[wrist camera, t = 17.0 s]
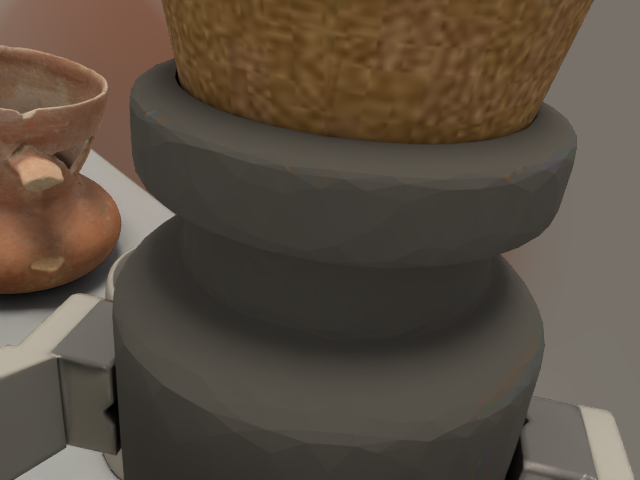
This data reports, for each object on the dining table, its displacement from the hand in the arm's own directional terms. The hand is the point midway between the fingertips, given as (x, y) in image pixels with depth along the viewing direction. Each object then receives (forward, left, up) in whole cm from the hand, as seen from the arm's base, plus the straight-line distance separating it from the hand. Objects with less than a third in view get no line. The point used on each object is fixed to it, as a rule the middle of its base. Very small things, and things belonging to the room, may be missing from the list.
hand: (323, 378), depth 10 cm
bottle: (0, -1, -8) cm, 8 cm away
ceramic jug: (+4, +37, -22) cm, 43 cm away
